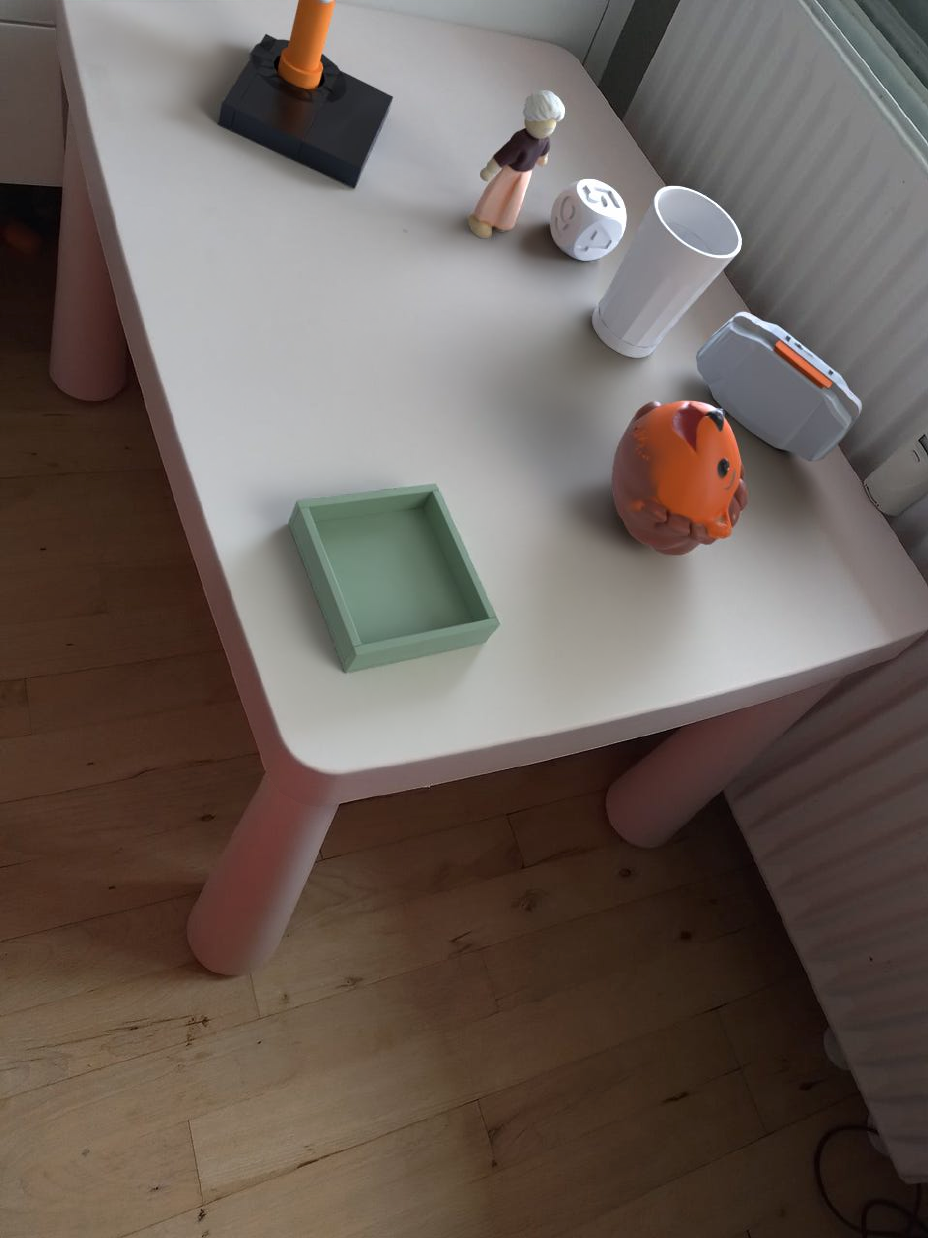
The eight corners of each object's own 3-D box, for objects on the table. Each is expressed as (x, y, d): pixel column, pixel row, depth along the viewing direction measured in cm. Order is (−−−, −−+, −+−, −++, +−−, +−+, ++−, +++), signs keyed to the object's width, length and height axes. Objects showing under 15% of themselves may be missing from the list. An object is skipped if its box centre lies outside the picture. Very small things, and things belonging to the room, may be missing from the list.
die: (607, 262, 91) (634, 219, 87) (563, 260, 88) (589, 216, 84) (586, 223, 92) (612, 179, 88) (542, 221, 90) (567, 175, 86)
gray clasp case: (816, 461, 88) (879, 403, 81) (806, 478, 86) (869, 420, 79) (691, 360, 88) (743, 294, 82) (678, 375, 86) (731, 309, 80)
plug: (267, 92, 84) (300, -57, 74) (280, 71, 86) (314, -77, 76) (309, 112, 85) (347, -33, 75) (320, 91, 87) (359, -53, 77)
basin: (287, 522, 63) (296, 499, 61) (424, 503, 68) (436, 482, 66) (345, 673, 59) (356, 655, 57) (485, 642, 64) (500, 624, 62)
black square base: (215, 123, 80) (219, 101, 78) (263, 47, 87) (267, 25, 86) (354, 188, 82) (361, 168, 81) (389, 109, 90) (396, 89, 88)
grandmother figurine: (483, 251, 85) (546, 122, 74) (451, 223, 85) (508, 90, 75) (530, 222, 89) (594, 96, 79) (498, 196, 89) (559, 67, 79)
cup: (569, 297, 86) (637, 183, 76) (638, 296, 90) (712, 187, 80) (607, 366, 83) (683, 257, 74) (677, 363, 87) (758, 258, 77)
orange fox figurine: (582, 438, 78) (657, 336, 68) (696, 472, 81) (782, 379, 72) (588, 562, 71) (671, 468, 62) (711, 594, 74) (807, 508, 65)
